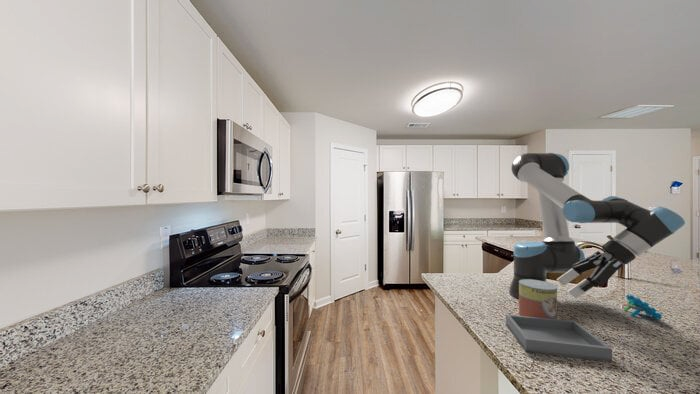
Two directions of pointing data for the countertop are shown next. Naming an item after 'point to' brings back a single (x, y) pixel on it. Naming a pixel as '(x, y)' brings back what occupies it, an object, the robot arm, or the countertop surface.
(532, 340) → the tray
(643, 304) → the blue irregular piece
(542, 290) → the canned food
